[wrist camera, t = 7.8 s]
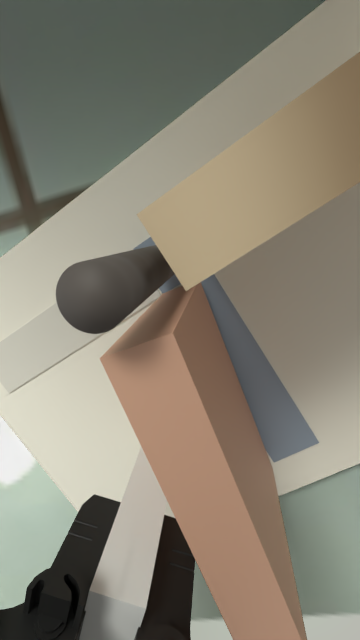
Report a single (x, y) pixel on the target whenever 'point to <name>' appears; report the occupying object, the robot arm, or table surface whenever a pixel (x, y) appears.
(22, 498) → the table surface
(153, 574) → the robot arm
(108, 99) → the table surface
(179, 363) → the hinged fence panel
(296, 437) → the card
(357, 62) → the fixed fence panel
